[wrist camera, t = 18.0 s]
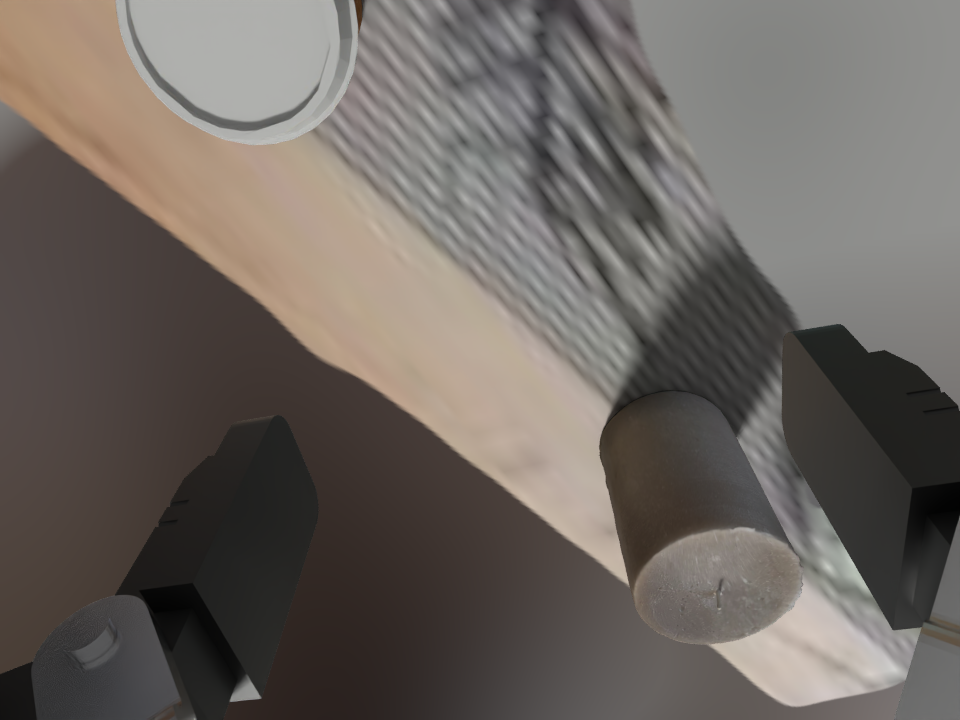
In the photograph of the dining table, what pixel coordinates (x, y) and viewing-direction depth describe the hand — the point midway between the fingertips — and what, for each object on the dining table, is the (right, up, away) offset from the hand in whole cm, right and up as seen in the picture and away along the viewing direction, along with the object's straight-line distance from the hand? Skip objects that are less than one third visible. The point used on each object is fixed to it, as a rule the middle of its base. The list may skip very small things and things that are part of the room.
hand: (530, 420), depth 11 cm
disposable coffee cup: (-10, +20, +26) cm, 34 cm away
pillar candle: (+13, -5, +40) cm, 43 cm away
